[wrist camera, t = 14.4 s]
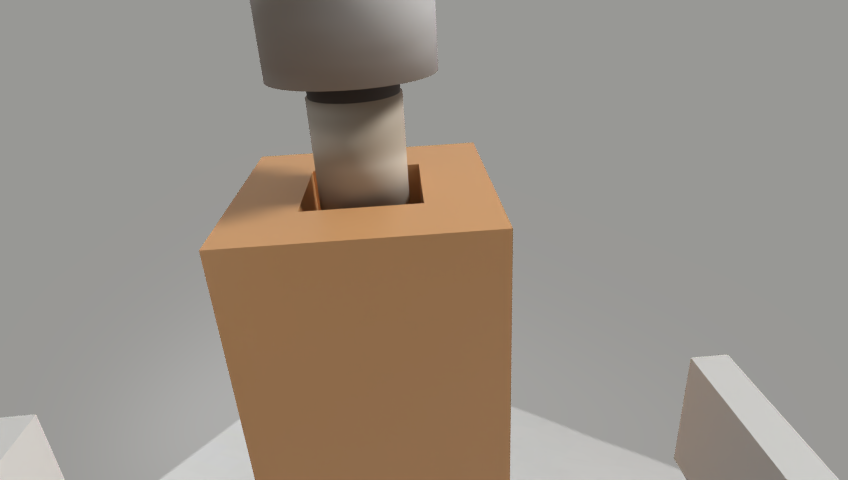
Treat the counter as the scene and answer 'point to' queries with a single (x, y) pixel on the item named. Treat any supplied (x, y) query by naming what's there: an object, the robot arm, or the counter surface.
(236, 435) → the counter surface
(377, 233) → the sleeve
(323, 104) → the stand
